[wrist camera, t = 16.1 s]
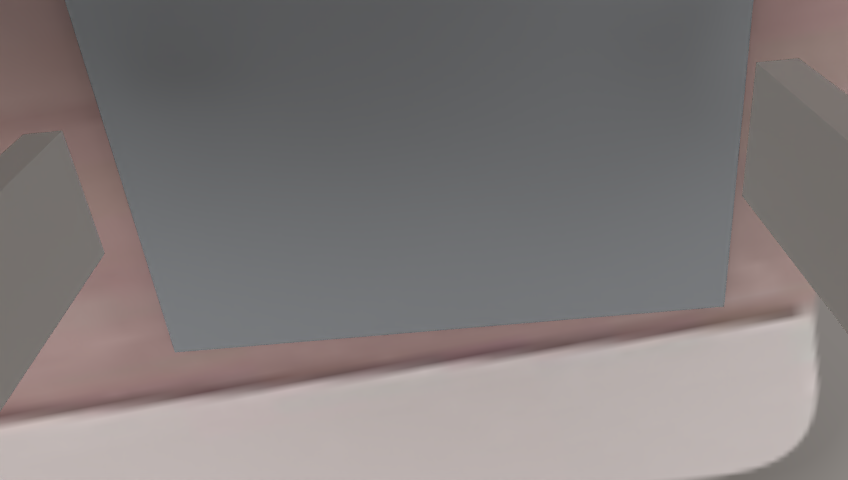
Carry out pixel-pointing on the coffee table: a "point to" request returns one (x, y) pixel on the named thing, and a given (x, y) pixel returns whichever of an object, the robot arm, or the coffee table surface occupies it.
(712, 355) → the coffee table surface
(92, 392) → the coffee table surface
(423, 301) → the mat
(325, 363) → the coffee table surface
